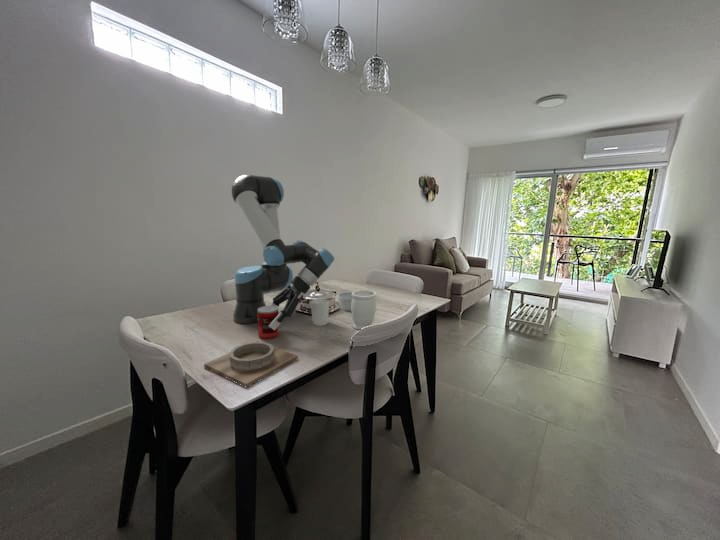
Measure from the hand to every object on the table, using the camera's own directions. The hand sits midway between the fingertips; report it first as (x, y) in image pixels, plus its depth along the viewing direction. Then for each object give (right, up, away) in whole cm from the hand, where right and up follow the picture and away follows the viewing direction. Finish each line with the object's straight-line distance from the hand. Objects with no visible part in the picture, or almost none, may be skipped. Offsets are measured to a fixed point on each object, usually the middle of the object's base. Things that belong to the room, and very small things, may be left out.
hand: (267, 322), depth 113 cm
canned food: (0, -6, +2) cm, 6 cm away
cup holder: (+2, -9, -20) cm, 22 cm away
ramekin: (+31, 0, +39) cm, 50 cm away
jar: (+37, -4, +13) cm, 40 cm away
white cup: (+18, -3, +16) cm, 25 cm away
